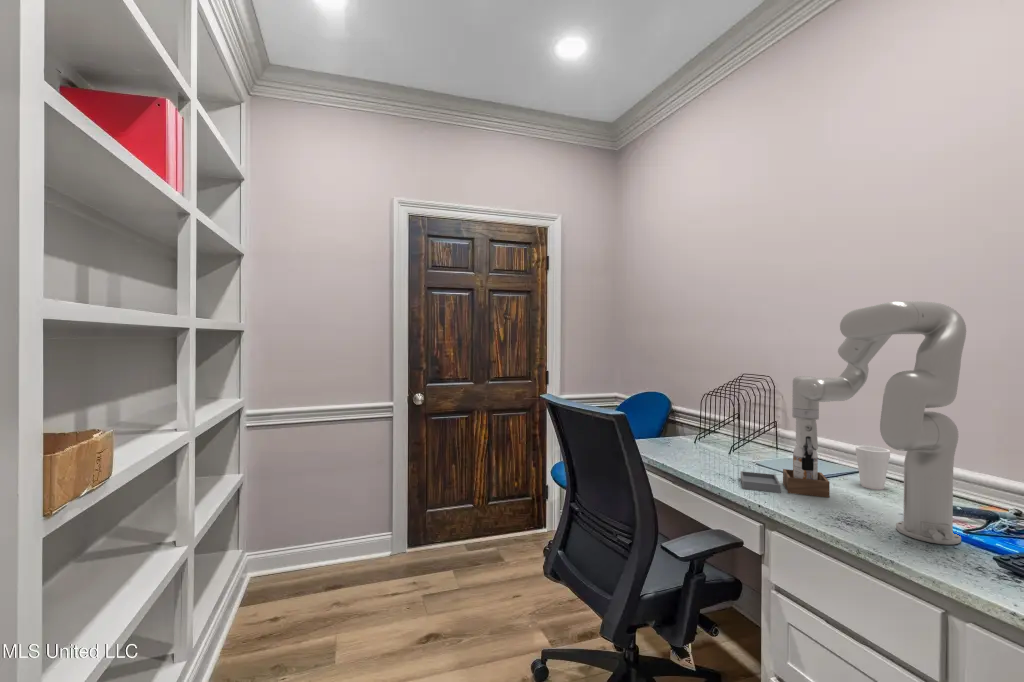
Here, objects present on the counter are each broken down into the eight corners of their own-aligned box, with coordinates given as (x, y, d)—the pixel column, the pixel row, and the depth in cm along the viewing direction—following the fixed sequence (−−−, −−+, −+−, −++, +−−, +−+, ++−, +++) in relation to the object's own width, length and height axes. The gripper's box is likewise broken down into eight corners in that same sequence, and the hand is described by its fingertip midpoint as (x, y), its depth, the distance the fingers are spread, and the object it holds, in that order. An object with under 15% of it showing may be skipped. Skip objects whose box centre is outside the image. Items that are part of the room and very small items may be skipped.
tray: (780, 493, 155) (780, 485, 155) (743, 488, 159) (743, 481, 159) (775, 481, 167) (775, 474, 167) (740, 478, 171) (740, 471, 171)
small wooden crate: (829, 497, 151) (829, 481, 151) (788, 493, 155) (788, 477, 155) (821, 487, 161) (821, 472, 161) (782, 483, 165) (783, 469, 165)
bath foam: (788, 487, 160) (788, 428, 160) (803, 486, 162) (804, 427, 162) (806, 494, 154) (806, 432, 154) (822, 492, 156) (822, 431, 156)
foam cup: (896, 492, 156) (896, 452, 156) (864, 490, 158) (864, 451, 158) (879, 483, 166) (880, 446, 165) (850, 481, 167) (850, 445, 167)
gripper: (824, 418, 148) (824, 475, 149) (813, 410, 165) (812, 462, 165) (797, 417, 151) (796, 472, 151) (788, 409, 167) (787, 459, 167)
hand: (805, 466), depth 158 cm, fingers closed on bath foam, 7 cm apart
